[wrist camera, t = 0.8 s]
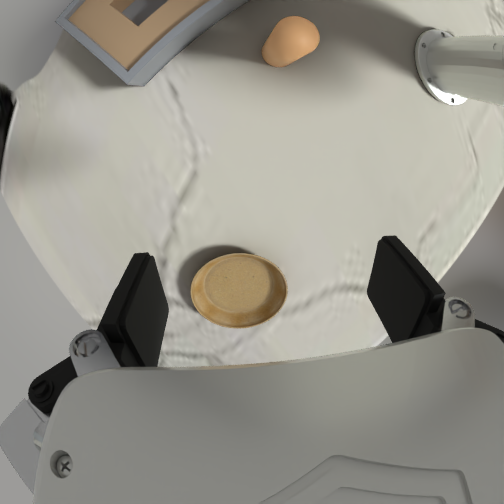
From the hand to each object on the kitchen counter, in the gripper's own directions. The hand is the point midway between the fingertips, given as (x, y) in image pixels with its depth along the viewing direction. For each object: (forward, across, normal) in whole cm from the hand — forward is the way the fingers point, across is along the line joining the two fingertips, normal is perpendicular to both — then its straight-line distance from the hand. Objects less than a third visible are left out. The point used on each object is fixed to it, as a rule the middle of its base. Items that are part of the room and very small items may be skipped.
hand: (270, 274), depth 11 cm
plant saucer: (+26, +2, +21) cm, 33 cm away
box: (+25, +7, -23) cm, 35 cm away
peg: (+25, -4, -13) cm, 29 cm away
